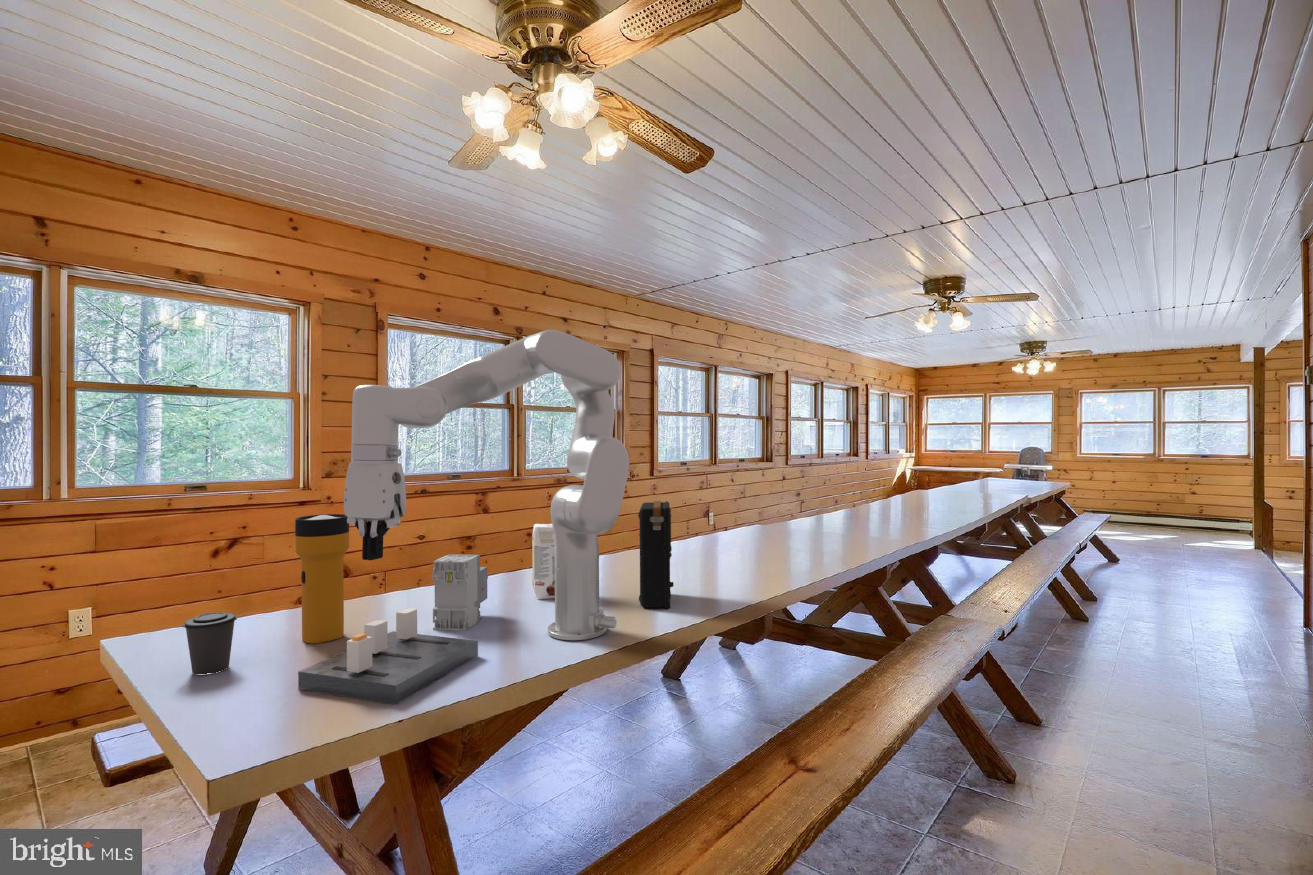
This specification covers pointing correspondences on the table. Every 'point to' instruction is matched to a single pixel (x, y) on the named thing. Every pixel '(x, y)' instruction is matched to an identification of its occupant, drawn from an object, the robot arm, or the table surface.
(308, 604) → the flashlight
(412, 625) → the block
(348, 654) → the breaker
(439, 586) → the circuit breaker
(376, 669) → the grey slider panel
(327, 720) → the table surface
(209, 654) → the coffee cup
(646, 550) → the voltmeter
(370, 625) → the block
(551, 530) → the juice carton
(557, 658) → the table surface
